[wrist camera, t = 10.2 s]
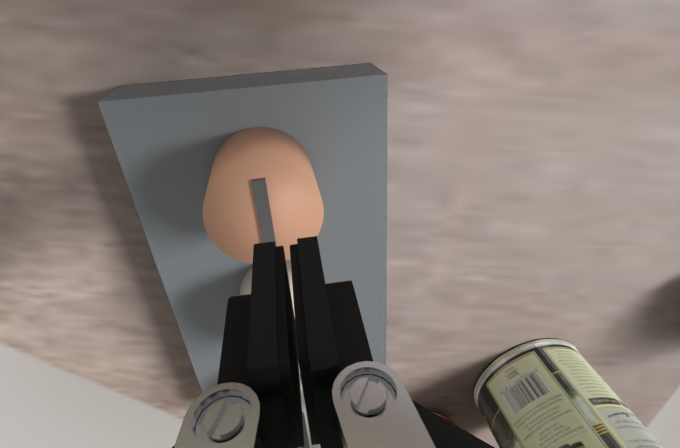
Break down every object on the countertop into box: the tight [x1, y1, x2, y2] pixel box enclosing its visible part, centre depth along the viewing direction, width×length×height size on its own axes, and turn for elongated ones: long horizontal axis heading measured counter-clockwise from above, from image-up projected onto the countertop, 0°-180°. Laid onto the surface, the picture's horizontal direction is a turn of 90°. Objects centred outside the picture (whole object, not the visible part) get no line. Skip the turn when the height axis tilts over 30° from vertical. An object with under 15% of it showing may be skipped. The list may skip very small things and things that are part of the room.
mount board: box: [97, 63, 387, 393], centre depth 24 cm, size 22×12×3 cm, turn 3°
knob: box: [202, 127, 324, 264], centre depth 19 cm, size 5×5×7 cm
